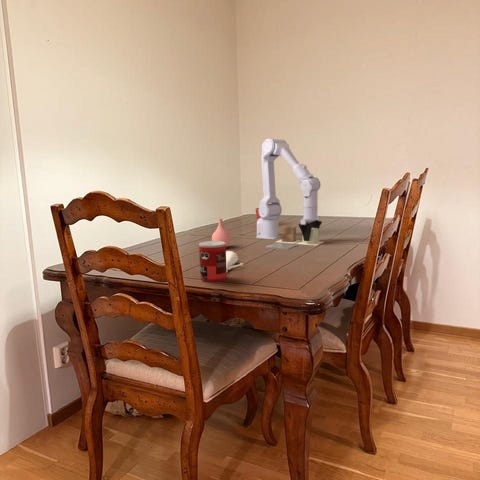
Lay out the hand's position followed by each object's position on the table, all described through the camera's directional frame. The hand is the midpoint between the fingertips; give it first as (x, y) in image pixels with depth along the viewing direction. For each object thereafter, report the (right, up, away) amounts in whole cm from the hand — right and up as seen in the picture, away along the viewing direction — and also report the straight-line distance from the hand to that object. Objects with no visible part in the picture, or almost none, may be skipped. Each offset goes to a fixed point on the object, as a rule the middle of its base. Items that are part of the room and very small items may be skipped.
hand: (310, 239), depth 183 cm
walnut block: (-8, -1, +6) cm, 10 cm away
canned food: (-37, -12, -52) cm, 65 cm away
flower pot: (-16, +7, +52) cm, 55 cm away
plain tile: (-8, -1, +6) cm, 10 cm away
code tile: (0, -2, 0) cm, 2 cm away
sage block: (0, -1, 0) cm, 1 cm away
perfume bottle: (-37, -4, -5) cm, 38 cm away
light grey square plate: (-12, -3, -6) cm, 14 cm away
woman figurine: (-34, -10, -37) cm, 51 cm away
